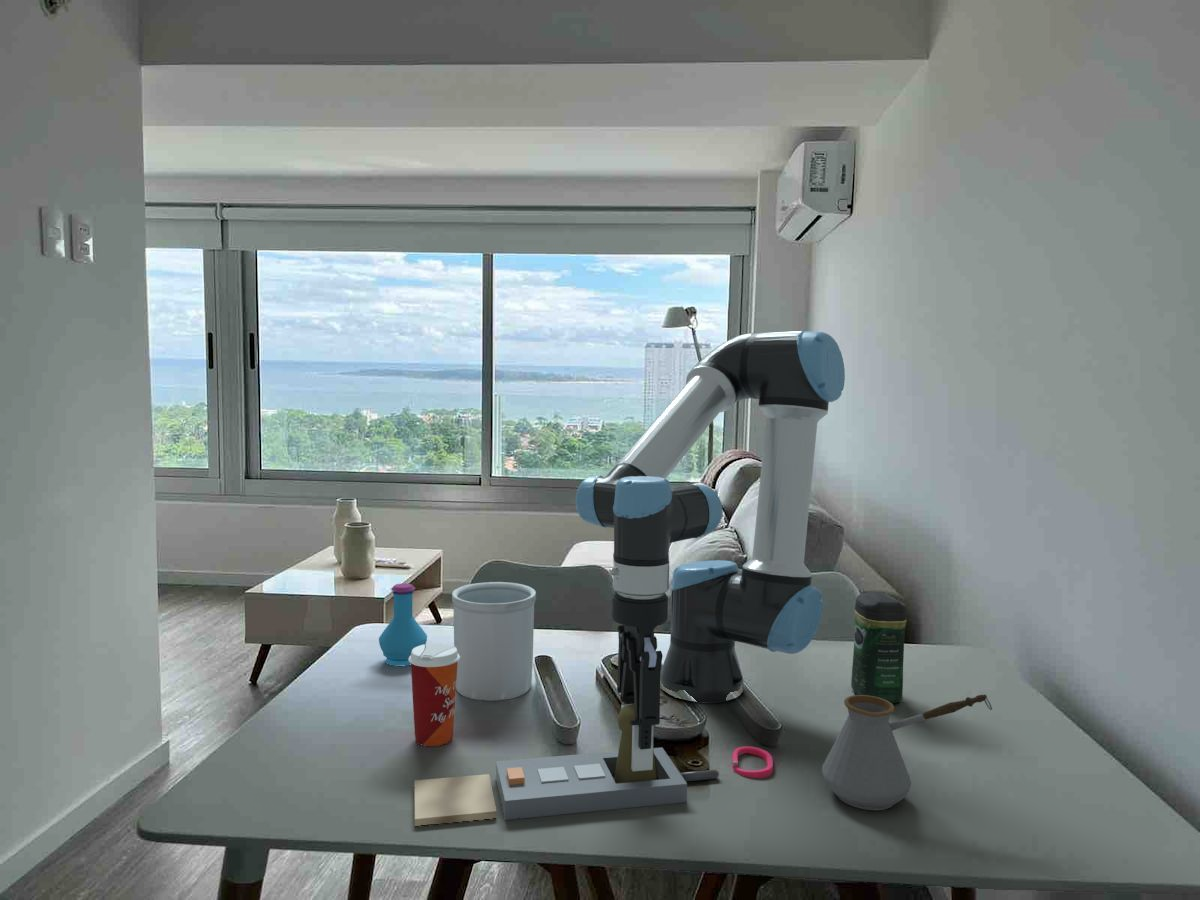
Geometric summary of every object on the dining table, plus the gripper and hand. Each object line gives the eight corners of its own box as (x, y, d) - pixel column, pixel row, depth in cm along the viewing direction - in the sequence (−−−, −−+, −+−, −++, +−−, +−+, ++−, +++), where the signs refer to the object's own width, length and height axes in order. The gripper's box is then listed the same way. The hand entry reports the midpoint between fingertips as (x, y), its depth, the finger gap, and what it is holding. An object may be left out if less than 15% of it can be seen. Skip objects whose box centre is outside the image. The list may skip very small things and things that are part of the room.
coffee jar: (909, 706, 142) (914, 601, 141) (864, 706, 142) (869, 601, 140) (887, 686, 152) (892, 587, 150) (845, 685, 152) (849, 587, 150)
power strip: (704, 760, 120) (705, 738, 120) (733, 797, 109) (734, 773, 109) (495, 778, 113) (496, 755, 113) (504, 820, 102) (505, 794, 102)
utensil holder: (523, 706, 139) (524, 605, 138) (439, 699, 141) (440, 599, 140) (542, 676, 153) (544, 584, 152) (466, 670, 156) (467, 579, 154)
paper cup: (448, 752, 121) (448, 660, 120) (399, 747, 122) (399, 655, 121) (467, 731, 129) (467, 643, 127) (421, 726, 130) (421, 639, 129)
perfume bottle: (436, 658, 162) (437, 584, 161) (402, 672, 154) (402, 594, 153) (403, 650, 167) (403, 577, 165) (368, 662, 159) (368, 586, 158)
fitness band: (732, 752, 124) (732, 743, 123) (771, 756, 123) (772, 746, 122) (731, 778, 116) (732, 767, 115) (773, 782, 115) (774, 771, 114)
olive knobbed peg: (631, 771, 116) (632, 695, 115) (666, 784, 112) (668, 707, 112) (604, 786, 112) (606, 708, 111) (639, 801, 108) (641, 720, 107)
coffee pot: (828, 814, 105) (833, 701, 104) (814, 773, 117) (819, 670, 116) (1001, 827, 103) (1008, 712, 102) (970, 783, 115) (976, 679, 113)
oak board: (489, 781, 112) (489, 774, 112) (496, 818, 103) (496, 811, 103) (414, 787, 110) (414, 780, 110) (414, 826, 100) (414, 819, 100)
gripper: (597, 577, 118) (594, 733, 120) (630, 611, 100) (626, 794, 102) (647, 575, 120) (643, 729, 121) (689, 609, 102) (683, 789, 104)
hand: (635, 758), depth 112 cm, fingers closed on olive knobbed peg, 5 cm apart
